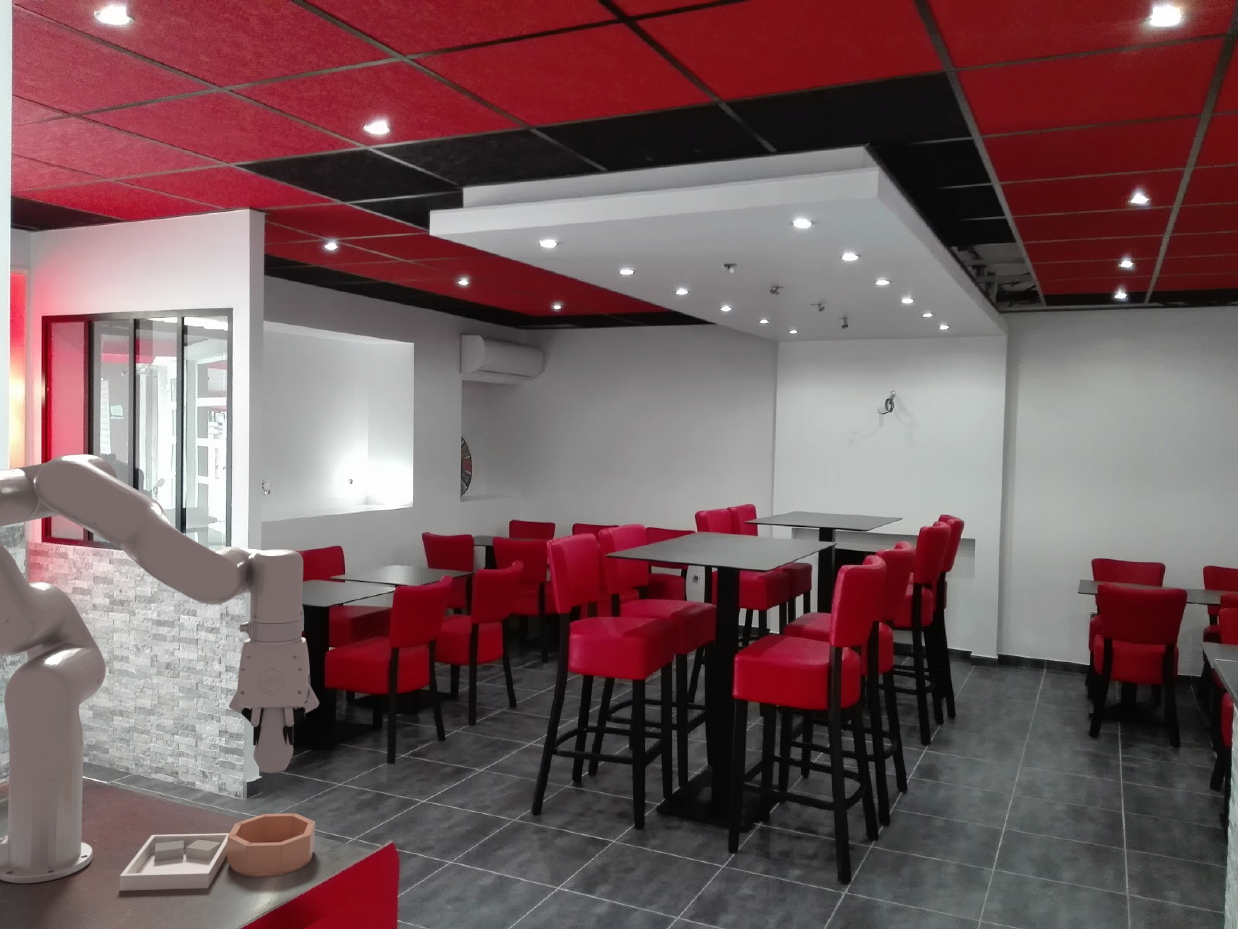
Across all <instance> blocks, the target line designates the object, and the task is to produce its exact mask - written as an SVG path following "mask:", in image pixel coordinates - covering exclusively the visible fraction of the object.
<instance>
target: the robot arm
mask: <svg viewBox="0 0 1238 929" xmlns="http://www.w3.org/2000/svg"><path fill="white" fill-rule="evenodd" d="M56 516H62V517H63V518H65V519H67V520H68V521H69V522H72V523H73V524H75V525H77V526H80V527H81V528H83V529H85V530H86V531H89V532H90V533H92V534H94V535H96V536H97V537H99V538H101V539H103V540H104V541H107V542H108V543H110V544H111V545H114V546H115V547H117V548H118V549H121V550H122V551H123V552H124V553H125V554H126V555H127V556H128V558H130V559H131V560H132V561H133V562H135V563H136V565H138V566H139V567H140V568H141V569H143V571H145V572H146V573H148V575H150V576H151V577H152V578H154V579H156V580H157V581H159V582H160V583H162V584H164V585H166V586H168V587H169V588H171V589H173V590H175V591H177V592H178V593H180V594H181V595H184V596H186V597H188V598H189V599H191V600H194V601H196V602H198V603H201V604H205V605H209V606H210V605H213V606H214V605H215V606H217V605H223V604H225V603H227V602H229V601H230V600H232V599H234V598H235V597H236V596H237V597H238V596H239V595H242V594H246V593H250V602H249V603H250V611H249V614H250V615H249V620H248V622H243V623H240V624H239V632H240V633H245V634H247V635H248V638H247V639H246V640H244V641H243V643H242V648H241V653H240V659H239V660H240V661H239V667H238V676H237V677H238V678H237V691H236V693H235V694H234V695H233V697H232V699H231V701H230V702H229V704H228V707H229V709H230V710H232V711H234V712H236V713H238V714H240V715H242V717H244V718H245V719H246V720H247V721H248V722H249V723H250V725H251V727H253V729H252V730H253V733H252V734H253V736H252V737H253V739H252V740H253V741H252V745H253V746H254V747H255V745H256V741H257V746H258V742H259V737H260V732H261V726H260V724H261V716H262V711H263V708H284V709H285V723H286V726H284V727H283V737H284V740H285V744H286V741H287V734H288V739H289V744H290V745H293V746H294V742H295V723H296V722H298V721H299V720H300V719H301V718H302V717H303V716H304V715H305V714H306V713H309V712H311V711H313V710H314V709H317V708H318V707H319V705H320V700H319V699H318V697H317V695H316V693H315V692H314V690H313V688H312V686H311V674H310V673H311V672H310V671H311V670H310V658H309V649H308V644H307V639H306V638H305V637H302V634H303V633H302V632H303V594H304V593H303V590H304V588H303V587H304V584H303V583H304V558H303V556H302V555H301V553H300V552H298V551H296V550H293V549H283V548H282V549H277V548H276V549H264V550H260V549H251V548H246V547H241V546H240V547H239V546H223V547H220V548H218V549H216V550H214V551H213V550H212V549H210V548H208V547H207V546H204V545H202V544H201V543H199V542H197V541H196V540H195V539H192V538H190V537H189V536H187V535H186V534H184V533H183V532H181V531H180V530H179V529H177V528H176V527H175V526H174V525H173V524H172V523H171V522H170V521H169V519H168V518H167V516H166V514H165V511H164V508H163V507H162V505H161V504H160V503H159V502H158V501H157V500H156V499H154V498H152V497H151V496H149V495H147V494H145V493H144V492H141V491H140V490H137V489H136V488H134V487H132V486H131V485H129V484H127V483H125V482H124V481H122V480H121V479H118V476H117V473H116V471H115V469H114V468H113V467H112V465H111V464H110V463H109V462H108V461H107V460H105V459H103V458H102V457H99V456H96V455H92V454H72V455H71V454H70V455H63V456H62V455H61V456H58V457H56V458H55V457H54V458H52V459H51V460H49V461H47V462H44V463H38V464H32V465H26V466H20V467H15V468H7V469H0V528H1V527H2V528H3V527H5V526H10V525H15V524H16V525H17V524H21V523H25V522H30V521H35V520H40V519H45V518H50V517H51V518H52V517H56ZM24 652H25V653H26V654H27V656H28V657H29V660H27V661H26V662H25V663H23V664H22V665H21V666H20V667H18V668H17V669H16V670H15V671H14V673H13V674H12V675H11V676H10V678H9V680H8V682H7V684H6V687H5V691H4V710H5V716H6V722H7V730H8V742H9V743H8V747H9V748H8V749H9V750H8V751H9V752H8V753H9V754H8V755H9V756H8V767H9V768H8V769H9V770H8V809H7V810H8V813H7V814H8V818H7V823H8V824H7V834H6V835H4V836H3V837H0V880H1V881H3V882H7V883H11V884H34V883H42V882H48V881H53V880H54V881H55V880H57V879H62V878H64V877H67V876H70V875H72V874H75V873H77V872H79V871H81V870H82V869H84V868H85V867H87V865H89V864H90V863H91V862H92V859H93V857H94V856H93V855H94V850H93V848H92V846H91V845H90V844H88V843H86V842H83V841H82V826H83V825H82V824H83V823H82V821H83V789H84V788H83V783H84V782H83V780H84V775H83V774H84V734H83V726H82V722H81V718H80V705H81V704H83V702H84V703H85V701H87V700H88V699H89V698H91V697H92V696H93V695H94V694H96V693H97V692H98V690H99V689H100V687H102V685H103V683H104V681H105V677H106V673H107V672H106V670H107V669H106V662H105V659H104V657H103V654H102V652H101V649H100V647H99V646H98V644H97V642H96V641H95V639H94V636H93V635H92V634H91V631H90V630H89V628H88V626H87V625H86V623H85V621H84V619H83V617H82V616H81V614H80V612H79V610H78V609H77V606H75V604H74V602H73V601H72V599H71V598H70V597H69V595H67V593H66V592H64V590H62V589H61V588H59V587H57V586H56V585H53V584H52V583H48V582H43V581H32V582H28V581H27V580H26V578H25V576H24V575H23V573H22V572H21V570H20V568H19V566H18V564H17V562H16V560H15V559H14V557H13V556H12V554H11V553H10V552H9V550H8V549H7V548H6V547H5V546H4V545H3V544H2V543H1V542H0V656H5V657H6V656H7V657H8V656H15V655H19V654H22V653H24Z"/></svg>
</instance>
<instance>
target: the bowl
mask: <svg viewBox="0 0 1238 929" xmlns="http://www.w3.org/2000/svg"><path fill="white" fill-rule="evenodd" d="M300 832H301V833H300ZM315 834H316V821H314V820H313V819H310V818H308V817H305V816H304V815H301V814H298V813H296V812H295V813H293V812H292V813H290V812H289V813H263V814H260V815H257V816H253V817H250V818H248V819H244V820H241V821H238V822H236V823H234V825H233V826H232V829H231V830H230V832H229V835H228V841H227V856H226V863H227V864H228V865H229V867H230V869H231V870H232V872H234V873H236V874H238V875H241V876H244V877H245V876H246V877H252V878H253V877H254V878H268V877H270V878H271V877H277V876H283V875H287V874H290V873H293V872H295V871H298V870H301V869H302V868H304V867H305V866H307V865H308V864H309V863H310V862H311V860H312V859H313V852H314V848H315V839H316V838H315V836H316V835H315Z"/></svg>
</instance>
